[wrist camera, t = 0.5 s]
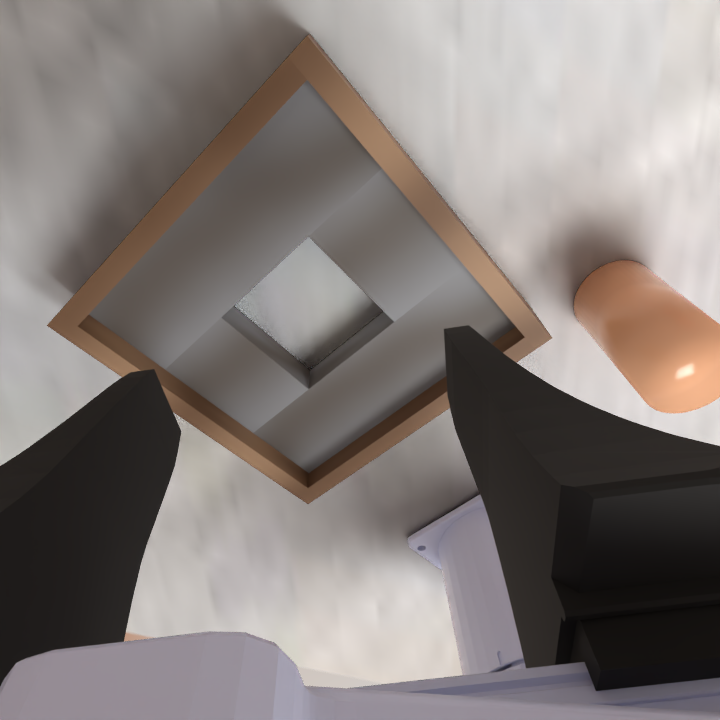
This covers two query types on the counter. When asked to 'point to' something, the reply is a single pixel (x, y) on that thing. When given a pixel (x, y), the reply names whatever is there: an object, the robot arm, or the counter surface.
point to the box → (270, 247)
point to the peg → (652, 336)
